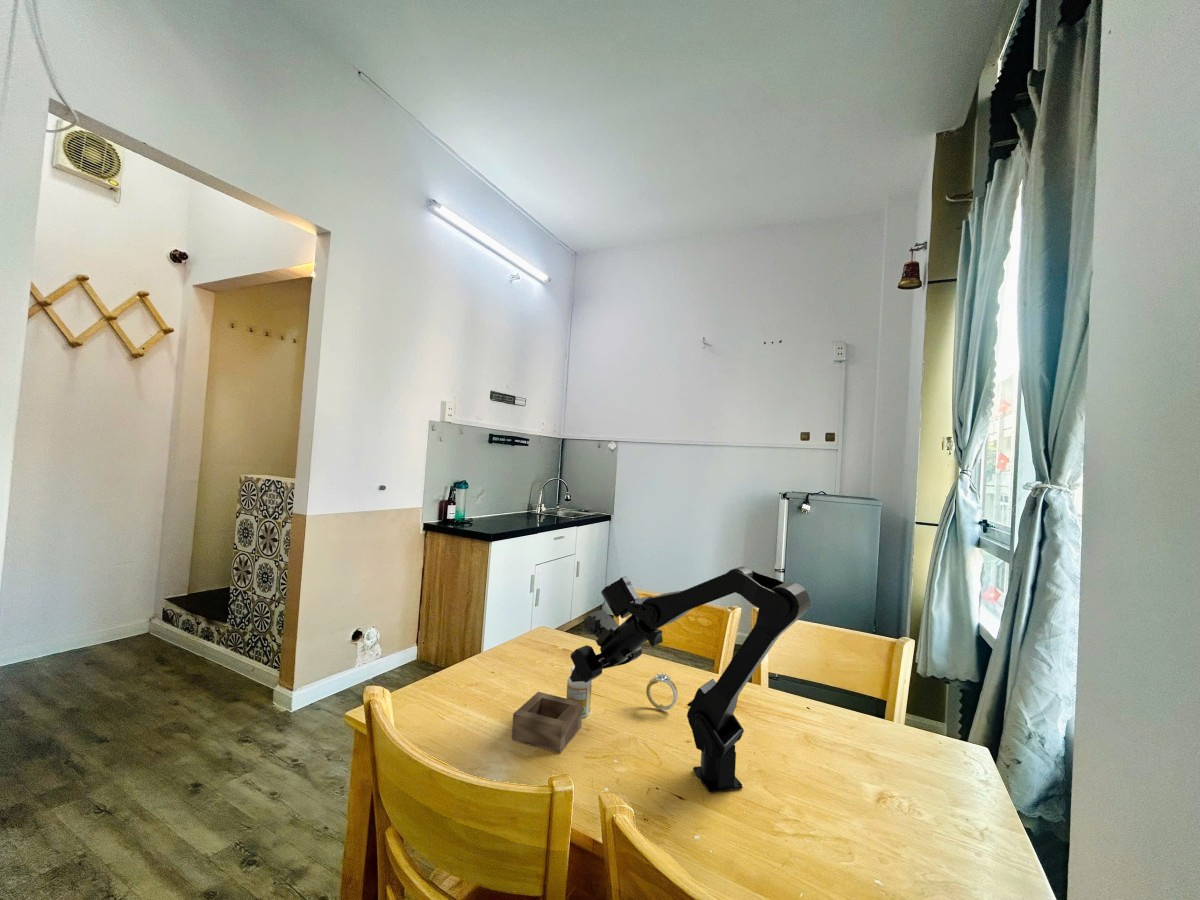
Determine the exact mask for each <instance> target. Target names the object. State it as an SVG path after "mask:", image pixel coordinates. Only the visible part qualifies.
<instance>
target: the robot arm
mask: <svg viewBox="0 0 1200 900" xmlns="http://www.w3.org/2000/svg"><path fill="white" fill-rule="evenodd" d="M600 593H601V595H602V597H603V599H604V600H605V602H606V604H607V606H608V608H609V609H610V610H611V612H612V614H613V616H614V617H615V618H619V617H620V618H621V619H624V618H625V619H626V620H624V621H623V622H622V623H621V624H620V625H619V624H618V623H617V621H616V620H615V619H614V618H613V617H611V615H609V613H607V612H606V611H605V610H603V609H599V610H597V611H593V612H590V614H589V615H588V616H587V617H586V618H584V622H583V627H584V629H585V630H586V631H587V632H588V633H589V634H590V635H592V634H593V635H594V636H595V637H596V638H597V639H596V640H595V643H596V644H597V646H598V647H599V651H600V653H598V654H596V652H595V650H594V648H593V647H592V646H591V645H588V644H586V645H583V646H581V647H579V648H576V649H575V650H574V651H572V652H571V653H570V659H571V661H572V663H573V666H574V665H575V668H574V670H573V672H572V674H571V673H570V674H571V675H570V676H569V677H570V679H571V681H572V682H579V681H584V682H585V683H587V682H589V681H592V680H595V679H596V678H598V677H599V676H601V675H602V674H603V670H604V669H608V668H613V667H618V666H622V665H626V664H628V663H630V662H633V661H634V660H636V659H638V658H639V657H641V656H642V653H643V648H642V647H641V646H643V645H644V644H645V643H647V642H648V643H649V646H651V647H652V648H653V647H656V646H657V645H660V644H662V643H663V642H664V641H663V640H664V639H663V630H662V629H659V628H663V627H664V626H667V625H669V624H672V623H674V622H676V621H677V620H678V619H680V618H681V617H683V616H685V615H686V614H687V613H689V612H690V611H691V610H693V609H695V608H698V607H701V606H703V605H706V604H708V603H711V602H713V601H717V600H719V599H721V598H723V597H724V598H725V597H727V596H729V595H732V594H735V593H736V594H738V595H740V596H741V597H742V598H744V599H745V600H746V601H748V602H749V603H750V604H751V605H752V606H754V607H756V608H758V610H757V614H756V619H755V624H754V626H753V628H752V629H751V631H750V632H749V633H748V634H747V637H746V638H745V640H743V643H742V644H741V645H740V647H739V648H738V650H737V652H736V653H735V655H734V656H733V658H732V659H731V661H730V662H729V663H728V665H727V666H726V668H725V669H724V670H723V672H722V674H721V675H720V677H719V678H718V679H717V681H715V679H714V678H711V679H710V680H709V681H707V682H705V683H704V684H703V685H701V686H700V687H698V688H697V690H696V692H695V694H694V697H693V699H692V700H691V701H689V702H688V703H687V707H689V708H688V710H687V713H686V714H687V715H686V718H687V720H688V721H687V722H688V725H689V726H690V728H691V733H692V737H693V740H694V744H695V747H696V749H697V750H699V751H701V752H700V766H693V767H692V770H693V773H694V775H696V777H697V778H698V779H699V781H700V782H701V783H702V785H703V786H704V787H705V789H706V790H707V792H708V793H711V794H712V793H714V794H715V793H720V792H721V793H722V792H727V791H735V790H740V789H743V784H742V781H740V780H739V779H738V778H737V777H736V760H737V752H736V743H738V742H739V741H740V740H741V739H742V737H743V735H744V732H745V730H744V727H742V725H741V723H740V722H739V719H737V718H736V716H735V714H734V713H735V709H736V708H737V704H738V699H739V696H740V693H741V692H742V690H744V688H745V686H746V685H747V683H748V682H749V681H750V679H751V678H752V676H753V674H754V673H755V672H756V670H757V669H758V668H759V666H760V665H761V663H762V662H763V660H764V659H765V657H766V656H767V654H768V653H769V652H770V650H771V649H772V647H773V646H774V644H775V643H776V642H777V640H778V639H779V637H780V636H781V635H783V633H785V632H786V631H787V630H788V629H789V628H791V627H792V626H793V625H794V624H795V622H797V621H799V619H800V618H801V617H802V616H803V615H804V614H806V613H807V611H808V610H809V608H810V605H811V600H810V597H809V596H810V595H809V593H808V592H807V590H806V588H804V587H803V586H802V585H801V584H799V583H797V582H794V581H787V582H785V581H782V580H781V579H778V578H776V577H774V576H770V575H766V574H763V573H761V572H758V571H755V570H753V569H751V568H749V567H747V566H738V567H735V568H732V569H729V570H728V571H727V572H726V573H724V574H721V575H719V576H716V577H713V578H711V579H709V580H707V581H704V582H702V583H699V584H696V585H694V586H692V587H689V588H687V589H684V590H677V591H671V592H670V591H669V592H666V593H661V594H658V595H655V596H643V597H640V596H639V595H638V592H637V591H636V589H635V588H634V586H633V584H632V582H631V580H630V579H629V577H628V576H622V577H620V578H619V579H617V580H615V581H614V582H612V583H610V584H609V585H607V586H605V587H604V588H603V589H602V590H601V592H600ZM627 617H628V618H627Z"/></svg>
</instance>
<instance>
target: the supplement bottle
mask: <svg viewBox="0 0 1200 900" xmlns="http://www.w3.org/2000/svg"><path fill="white" fill-rule="evenodd" d="M574 668H575V665H574V664H573V666H571V670H570V672H571V673H570V674H572V672H573V670H574ZM566 682H567V683H566V697H565V698H566V699H570V700H574V701H579V702H583V709H582V719H584V718H586V717H588V716H589V715H590V713H591V703H592V701H591V699H592V686H593V685H592V683H593V682H592V680H591V681H589V682H587V683H585V682H584V681H579V682H572V681H571V679H570V676H569V677H568V678H567V681H566Z"/></svg>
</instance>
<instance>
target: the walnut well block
mask: <svg viewBox="0 0 1200 900" xmlns="http://www.w3.org/2000/svg"><path fill="white" fill-rule="evenodd" d="M566 698H567V697H563V696H558V695H554V694H549V693H545V692H541V691H537V692H536V693H535V694H534V695H533V696H531V697H530V698H529V699H528V700H527V701H526V702H525V703H523V704H522V705H521V706H520V707H519V708H518V709H516V710H515V711H514V712H513V713H512V725H511V726H512V727H511V741H514V742H518V743H521V744H524V745H525V744H526V745H528V746H529V745H530V746H531V747H534V748H539V749H543V750H546V751H548V752H553V753H556V754H559V755H560V754H561V753H562V752H563V751H564V749H565V748H567V746H568V744H569V743H570V742H571V741H572V739H574V737H575V735H576V734H577V733H578V732H579V731H580V729H581V728H582V727H583V726H582V723H583V722H582V721H583V718H582V709H583V702H579V701H574V700H570V699H566Z"/></svg>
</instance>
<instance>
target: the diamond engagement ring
mask: <svg viewBox="0 0 1200 900" xmlns="http://www.w3.org/2000/svg"><path fill="white" fill-rule="evenodd" d="M659 682H660V683H665V684H667V685H668V686H669V687H670V688H671V691H672V695H673V699H672V702H671V703H670V704H669V705H663V704H658V703H657V702H656V701H655V700H654V699H653V695H652V694H651V687H652V686H653V685H655V684H658V683H659ZM645 691H646V696H647V697H646V698H647V699H648V701H649V702H650V704H651V706H653V707H655V709H658V711H660V712H662V711H668V710H670V709H672V708H673V707H674V705H675V704H676V703H677V700H678V689H677V686H676V684H675V683H674V681H672V680H671V677H670V676H669V675H667V674H666V673H665V674H664V672H661V674H659V673H656V675H655V676H653V677H652V678H651V679H650V680H649V682H648V684H647V685H646V688H645Z"/></svg>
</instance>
